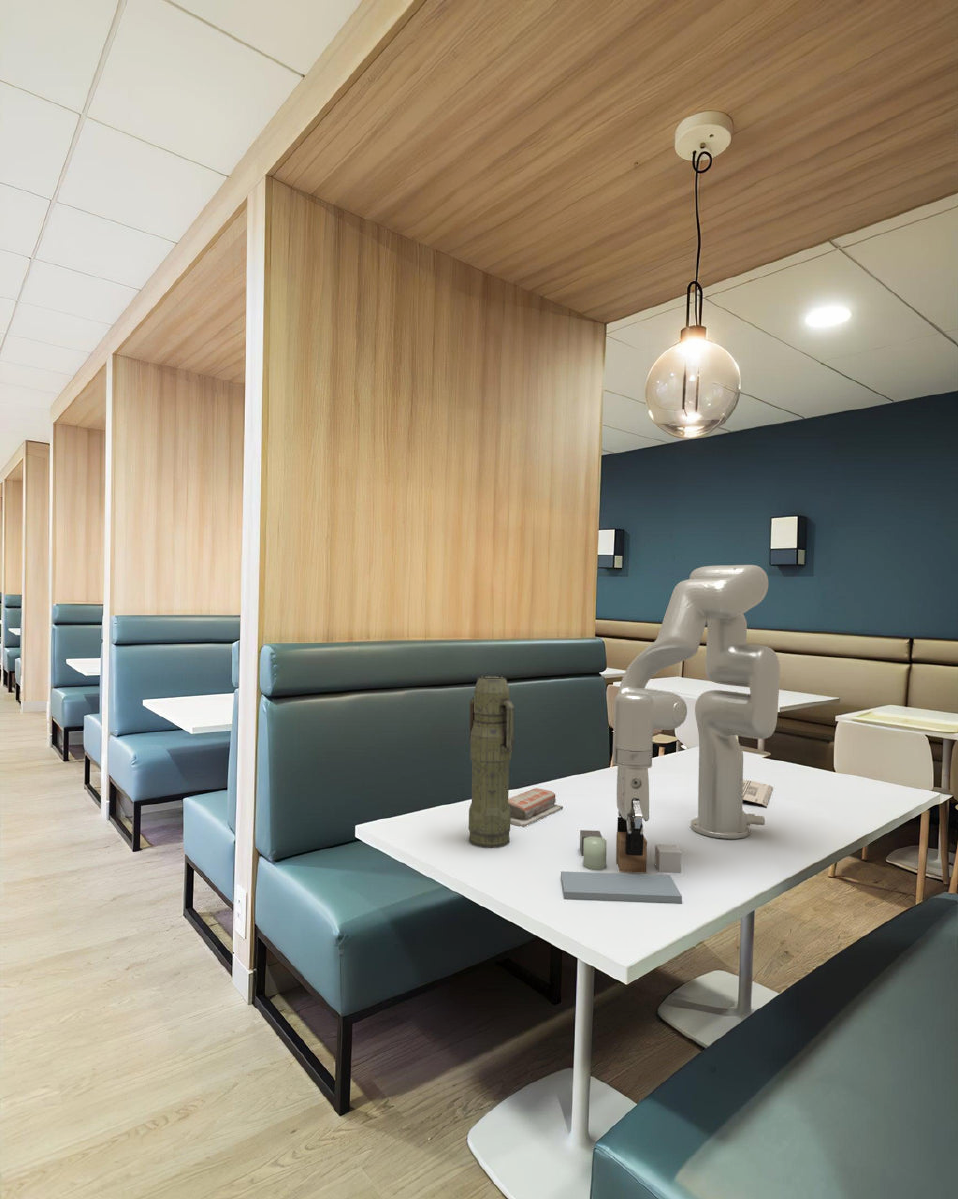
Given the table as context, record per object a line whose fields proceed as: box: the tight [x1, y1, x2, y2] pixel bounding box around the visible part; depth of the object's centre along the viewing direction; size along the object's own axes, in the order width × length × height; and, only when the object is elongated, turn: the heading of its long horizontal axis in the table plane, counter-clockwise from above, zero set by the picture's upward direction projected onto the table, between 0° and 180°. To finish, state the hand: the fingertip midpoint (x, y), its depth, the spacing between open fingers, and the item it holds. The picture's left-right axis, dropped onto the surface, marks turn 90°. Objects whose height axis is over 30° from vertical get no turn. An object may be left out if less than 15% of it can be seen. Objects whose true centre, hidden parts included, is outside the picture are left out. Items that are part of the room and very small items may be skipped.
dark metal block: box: [579, 829, 603, 857], centre depth 141 cm, size 4×4×4 cm
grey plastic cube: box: [654, 844, 682, 874], centre depth 133 cm, size 4×4×4 cm
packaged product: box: [508, 787, 564, 828], centre depth 166 cm, size 18×5×10 cm
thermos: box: [468, 675, 515, 849], centre depth 147 cm, size 9×12×35 cm
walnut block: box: [615, 831, 648, 874], centre depth 133 cm, size 5×5×6 cm
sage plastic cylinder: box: [582, 836, 608, 871], centre depth 134 cm, size 4×4×5 cm
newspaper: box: [742, 779, 774, 808], centre depth 186 cm, size 23×12×2 cm, turn 153°
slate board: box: [560, 870, 683, 904], centre depth 123 cm, size 20×9×1 cm, turn 87°
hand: (629, 846), depth 133 cm, fingers open, 9 cm apart
